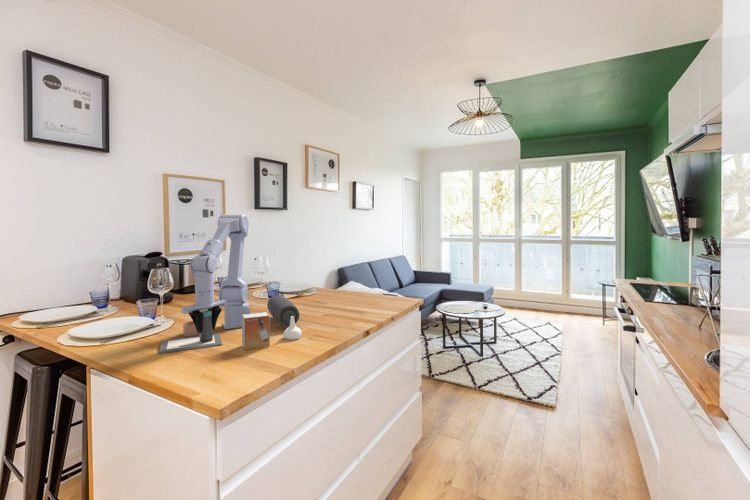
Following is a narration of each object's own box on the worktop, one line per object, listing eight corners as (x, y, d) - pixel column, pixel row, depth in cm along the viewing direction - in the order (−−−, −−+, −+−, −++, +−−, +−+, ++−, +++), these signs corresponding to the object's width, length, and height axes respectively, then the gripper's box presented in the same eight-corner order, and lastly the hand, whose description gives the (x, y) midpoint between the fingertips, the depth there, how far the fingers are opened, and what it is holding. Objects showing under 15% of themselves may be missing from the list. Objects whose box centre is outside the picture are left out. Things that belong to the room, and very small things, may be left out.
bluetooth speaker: (265, 317, 151) (265, 294, 150) (287, 314, 155) (287, 292, 154) (276, 331, 130) (276, 305, 130) (301, 328, 135) (300, 303, 134)
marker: (208, 337, 121) (207, 309, 120) (215, 339, 119) (214, 311, 118) (197, 340, 118) (196, 311, 117) (203, 343, 116) (202, 313, 115)
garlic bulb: (284, 337, 126) (281, 315, 125) (301, 334, 127) (299, 313, 127) (284, 342, 120) (281, 320, 119) (302, 339, 121) (300, 317, 121)
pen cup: (205, 329, 133) (205, 319, 132) (206, 334, 126) (205, 324, 126) (183, 332, 129) (183, 321, 129) (183, 337, 123) (182, 326, 123)
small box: (244, 350, 111) (243, 318, 110) (242, 345, 116) (241, 314, 115) (270, 346, 114) (269, 315, 114) (267, 341, 119) (266, 311, 118)
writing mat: (219, 334, 127) (219, 332, 127) (221, 345, 116) (221, 343, 116) (162, 341, 119) (161, 340, 119) (158, 354, 107) (158, 352, 107)
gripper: (218, 286, 125) (219, 323, 126) (176, 293, 114) (178, 333, 115) (229, 288, 121) (230, 326, 122) (187, 295, 109) (189, 337, 110)
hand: (205, 330), depth 118 cm, fingers closed on marker, 4 cm apart
